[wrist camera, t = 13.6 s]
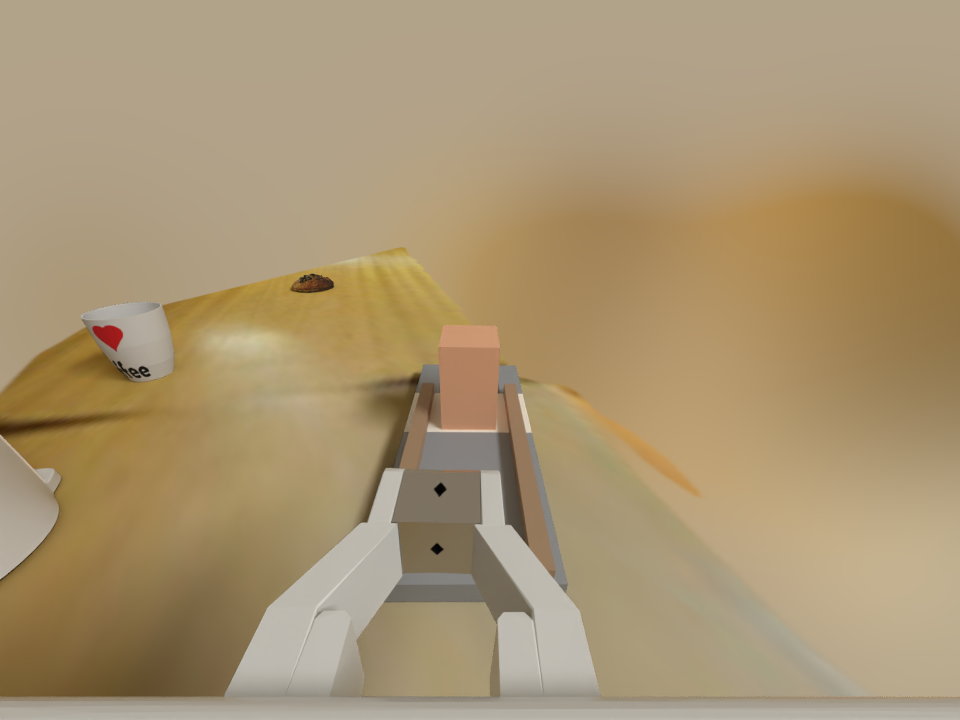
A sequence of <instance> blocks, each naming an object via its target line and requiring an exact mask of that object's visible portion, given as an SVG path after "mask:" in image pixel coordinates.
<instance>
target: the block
mask: <svg viewBox="0 0 960 720" xmlns="http://www.w3.org/2000/svg"><path fill="white" fill-rule="evenodd" d="M438 348H439V374H440V400H441V426H442V430H496V418H497V399H498V379H499V359H500V344H499V338H498V332H497V326H463V325H443V330H442V334H441V338H440V343H439V347H438Z"/></svg>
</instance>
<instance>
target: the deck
mask: <svg viewBox="0 0 960 720" xmlns="http://www.w3.org/2000/svg"><path fill="white" fill-rule="evenodd" d="M393 468H400V469H406V468H408V469H429V470H498V471H499V472H500V477H501V487H502V498H503V509H504V520H505V525H511V526H512V527H513V528H514V530H515V531H516V532H517V533H518V535H519V536H520V537H521V538H522V540H523V541H524V542H525V543H526V545H527V546H528V547H529V548H530V550H531V551H532V552H533V553H534V555H535V556H536V557H537V558H538V560H539V561H540V562H541V563H542V565H543V566H544V567H545V568H546V570H547V571H548V572H549V574H550V575H551V576H552V577H553V579H554V580H555V581H556V582H557V584H558V585H559V586H560V587H561V589H562V590H563V591H564V592H565V594H566V590H567V585H568V583H567V579H566V575H565V571H564V566H563V562H562V558H561V554H560V550H559V545H558V541H557V537H556V533H555V529H554V524H553V520H552V516H551V512H550V508H549V503H548V499H547V495H546V491H545V486H544V482H543V478H542V474H541V470H540V465H539V461H538V457H537V453H536V449H535V444H534V440H533V436H532V432H531V428H530V423H529V419H528V415H527V411H526V407H525V402H524V398H523V394H522V390H521V385H520V381H519V377H518V373H517V369H516V366H500V365H499V379H498V399H497V418H496V430H442V426H441V400H440V374H439V365H423V369H422V372H421V375H420V379H419V382H418V385H417V389H416V392H415V396H414V399H413V402H412V406H411V409H410V413H409V416H408V419H407V423H406V426H405V429H404V433H403V436H402V440H401V443H400V446H399V450H398V453H397V457H396V460H395V463H394V467H393ZM384 602H485V600H484V599H483V597H482V595H481V593H480V591H479V589H478V587H477V585H476V583H475V581H474V579H473V577H472V574H456V573H438V572H437V573H402V577H401V579H400V580H399V581H398V583H397V584H396V586H395V587H394V588H393V590H392V591H391V593H390V594H389V595H388V597H387V598H386V599H385V601H384Z"/></svg>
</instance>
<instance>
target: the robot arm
mask: <svg viewBox="0 0 960 720" xmlns="http://www.w3.org/2000/svg"><path fill="white" fill-rule="evenodd" d="M60 480H61V475H60V474H59V473H58V472H57V471H56V470H55V469H53V468H43V469H33V468H32V467H31V466H30V465H29V464H28V463H27V462H26V461H25V459H24V458H23V457H22V456H21V455H20V454H19V453H18V452H17V451H16V450H15V449H14V448H13V447H12V446H11V445H10V444H9V443H8V442H7V441H6V440H5V439H4V438H3V437H2V436H1V435H0V579H1V578H3V577H4V576H5V575H6V574H8V573H9V572H10V571H11V570H13V569H14V568H15V567H16V566H17V565H19V564H20V563H21V562H22V561H23V560H24V559H25V558H26V557H27V556H28V555H30V554H31V553H32V552H33V551H34V550H35V549H36V548H37V546H38V545H39V544H40V543H41V542H42V541H43V540H44V539H45V537H46V536H47V535H48V533H49V532H50V531H51V529H52V528H53V526H54V524H55V522H56V520H57V517H58V514H59V506H58V503H57V501H56V499H55V498H54V491H55V490H56V488H57V486H58V484H59V483H60ZM437 572H438V573H456V574H472V577H473V579H474V581H475V583H476V585H477V587H478V589H479V591H480V593H481V595H482V597H483V599H484V600H485V602H486V604H487V606H488V608H489V610H490V612H491V614H492V616H493V618H494V620H495V622H496V624H497V628H496V635H495V643H494V650H493V658H492V665H491V673H490V697H362V692H363V687H364V682H365V676H364V672H363V667H362V663H361V659H360V654H359V650H358V646H357V642H356V640H357V639H358V637H359V636H360V634H361V633H362V632H363V630H364V629H365V627H366V626H367V625H368V623H369V622H370V620H371V619H372V618H373V616H374V615H375V613H376V612H377V611H378V609H379V608H380V606H381V605H382V604H383V602H384V601H385V599H386V598H387V597H388V595H389V594H390V593H391V591H392V590H393V588H394V587H395V586H396V584H397V583H398V581H399V580H400V579H401V577H402V573H437ZM0 720H960V697H601V696H600V692H599V688H598V684H597V680H596V675H595V671H594V667H593V663H592V659H591V655H590V651H589V647H588V643H587V639H586V635H585V631H584V627H583V623H582V619H581V615H580V611H579V610H578V609H577V607H576V606H575V605H574V604H573V602H572V601H571V600H570V599H569V597H568V596H567V595H566V594H565V592H564V591H563V590H562V589H561V587H560V586H559V585H558V584H557V582H556V581H555V580H554V579H553V577H552V576H551V575H550V574H549V572H548V571H547V570H546V568H545V567H544V566H543V565H542V563H541V562H540V561H539V560H538V558H537V557H536V556H535V555H534V553H533V552H532V551H531V550H530V548H529V547H528V546H527V545H526V543H525V542H524V541H523V540H522V538H521V537H520V536H519V535H518V533H517V532H516V531H515V530H514V528H513V527H512V526H511V525H505V520H504V509H503V498H502V487H501V477H500V472H499V471H498V470H429V469H408V468H406V469H400V468H386V469H385V470H384V472H383V474H382V477H381V480H380V483H379V486H378V489H377V493H376V496H375V499H374V502H373V505H372V508H371V511H370V514H369V517H368V520H367V523H360V524H359V525H357V526H356V527H355V528H354V529H353V530H352V531H351V532H350V533H349V534H348V535H347V536H345V537H344V538H343V539H342V540H341V541H340V542H339V543H338V544H337V545H336V546H335V547H333V548H332V549H331V550H330V551H329V552H328V553H327V554H326V555H325V556H324V557H322V558H321V559H320V560H319V561H318V562H317V563H316V564H315V565H314V566H313V567H312V568H310V569H309V570H308V571H307V572H306V573H305V574H304V575H303V576H302V577H301V578H300V579H298V580H297V581H296V582H295V583H294V584H293V585H292V586H291V587H290V588H289V589H287V590H286V591H285V592H284V593H283V594H282V595H281V596H280V597H279V598H278V599H277V600H275V601H274V602H273V603H272V604H271V605H270V606H269V607H268V608H267V610H266V612H265V614H264V616H263V618H262V620H261V622H260V624H259V626H258V628H257V630H256V632H255V634H254V636H253V638H252V640H251V642H250V644H249V646H248V648H247V650H246V652H245V654H244V656H243V658H242V660H241V662H240V664H239V667H238V669H237V671H236V673H235V675H234V677H233V679H232V681H231V683H230V685H229V687H228V689H227V691H226V693H225V695H224V697H0Z"/></svg>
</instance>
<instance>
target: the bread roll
mask: <svg viewBox="0 0 960 720" xmlns="http://www.w3.org/2000/svg"><path fill="white" fill-rule="evenodd" d="M333 285H334V284H333V281H332V280H330V279H329V278H328V277H326V278H325V277H322V275H321V276H320V275H315V274H310V275H304V277H300V278H299V280H297V281H295V282H294V283H293V285H292V287H291V288H292V289H293V290H294V291H296V292H309V293H310V292H316V291H324V290H328V289H331V288H333V287H334V286H333Z"/></svg>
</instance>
